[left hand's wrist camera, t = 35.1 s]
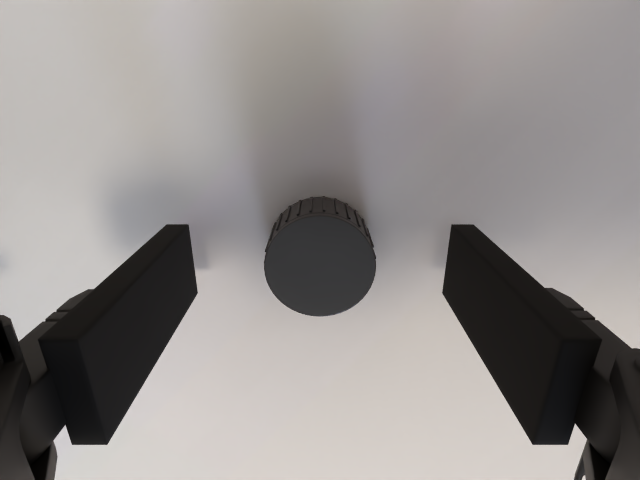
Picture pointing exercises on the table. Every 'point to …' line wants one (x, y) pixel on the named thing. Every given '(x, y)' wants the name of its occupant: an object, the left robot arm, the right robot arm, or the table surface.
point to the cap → (320, 257)
